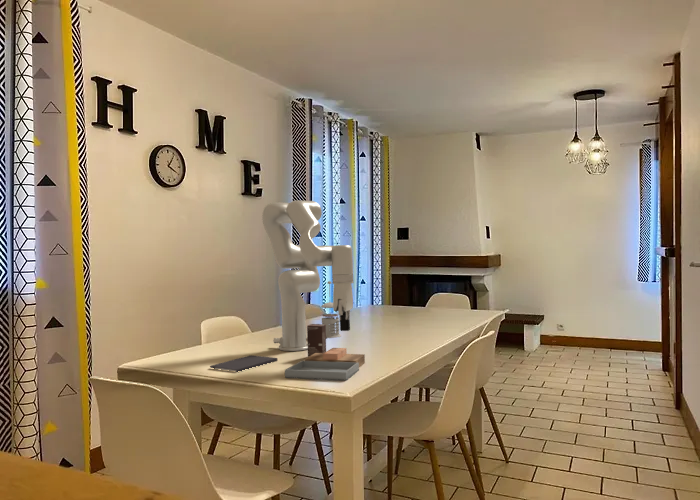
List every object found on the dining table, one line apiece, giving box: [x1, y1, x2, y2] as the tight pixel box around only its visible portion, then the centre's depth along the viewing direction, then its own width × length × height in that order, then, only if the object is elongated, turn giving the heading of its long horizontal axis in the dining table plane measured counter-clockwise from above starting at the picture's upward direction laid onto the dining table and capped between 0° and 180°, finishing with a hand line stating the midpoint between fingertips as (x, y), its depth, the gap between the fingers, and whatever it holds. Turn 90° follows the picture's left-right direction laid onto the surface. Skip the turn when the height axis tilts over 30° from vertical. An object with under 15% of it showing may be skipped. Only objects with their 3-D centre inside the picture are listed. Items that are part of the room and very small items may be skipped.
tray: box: [284, 360, 360, 382], centre depth 181 cm, size 20×14×2 cm
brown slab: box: [304, 353, 366, 368], centre depth 193 cm, size 18×11×3 cm, turn 74°
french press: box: [320, 280, 342, 339], centre depth 257 cm, size 10×12×25 cm
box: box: [306, 323, 327, 357], centre depth 208 cm, size 6×4×12 cm
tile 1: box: [323, 350, 342, 360], centre depth 191 cm, size 5×5×2 cm
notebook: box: [209, 354, 278, 373], centre depth 198 cm, size 13×2×21 cm
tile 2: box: [327, 347, 348, 357], centre depth 196 cm, size 5×5×2 cm
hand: (345, 330), depth 203 cm, fingers closed
